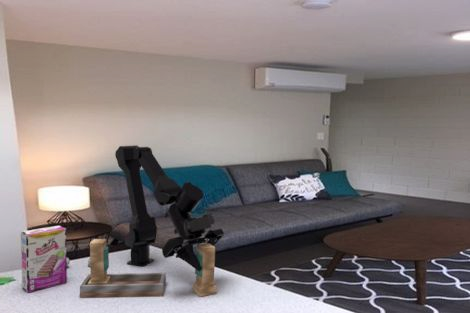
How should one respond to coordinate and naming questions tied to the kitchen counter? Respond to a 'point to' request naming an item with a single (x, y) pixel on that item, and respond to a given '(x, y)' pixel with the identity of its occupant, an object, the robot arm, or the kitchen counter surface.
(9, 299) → the kitchen counter surface
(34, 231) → the candy bar box
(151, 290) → the weathered wooden tray
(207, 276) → the oak finger
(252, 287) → the kitchen counter surface
